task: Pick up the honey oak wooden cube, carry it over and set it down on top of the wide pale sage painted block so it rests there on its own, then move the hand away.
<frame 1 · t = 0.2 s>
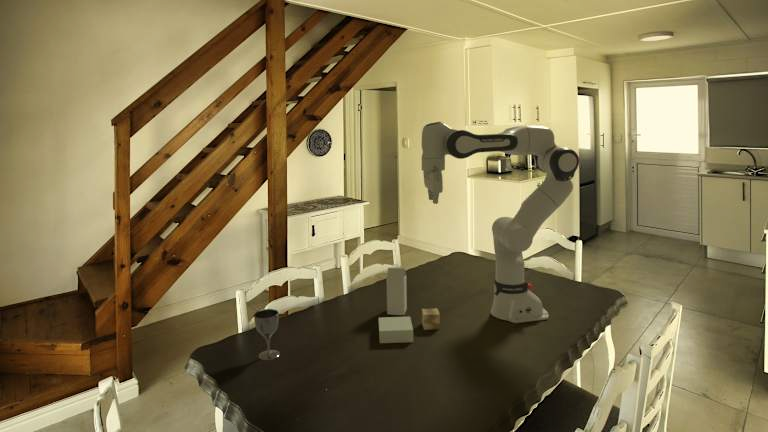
hand: (433, 201, 179), 47 cm above the table, tool pointing down, fingers open, 8 cm apart
wine glass: (269, 355, 159), on the table
sage block: (395, 336, 172), on the table
oak cube: (430, 326, 179), on the table
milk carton: (397, 312, 194), on the table
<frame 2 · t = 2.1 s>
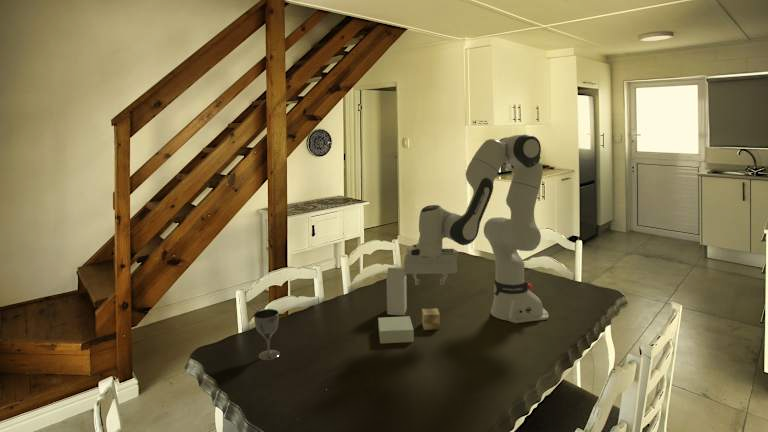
hand: (429, 284, 176), 17 cm above the table, tool pointing down, fingers open, 8 cm apart
nothing on the table moved.
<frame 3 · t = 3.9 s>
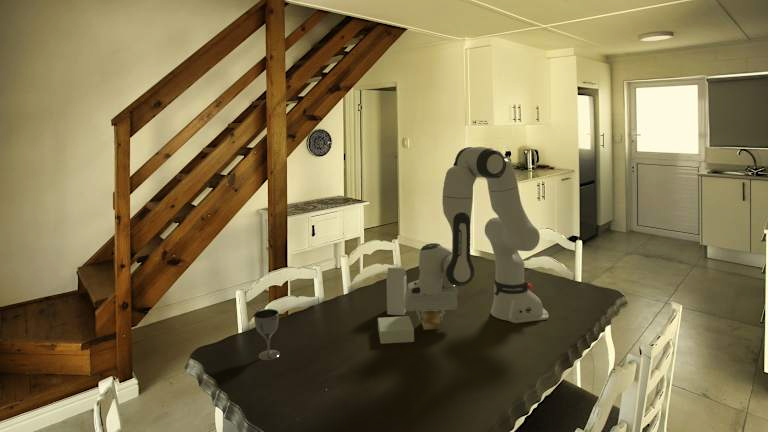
hand: (430, 320, 179), 2 cm above the table, tool pointing down, fingers closed on oak cube, 6 cm apart
oak cube: (430, 326, 179), on the table, touching gripper
everything else where it was.
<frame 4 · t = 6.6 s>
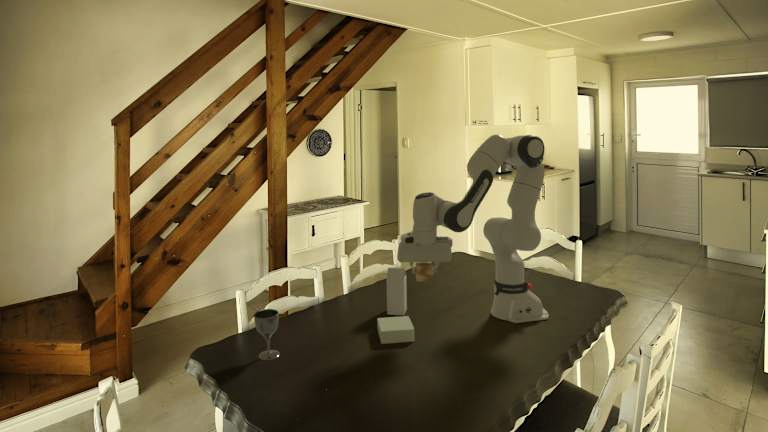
hand: (424, 272, 174), 22 cm above the table, tool pointing down, fingers closed on oak cube, 6 cm apart
oak cube: (424, 278, 175), point 19 cm above the table, touching gripper
everything else where it was.
when the fingers open (8 cm above the table, at t = 9.6 s): oak cube drops 2 cm, point 5 cm above the table.
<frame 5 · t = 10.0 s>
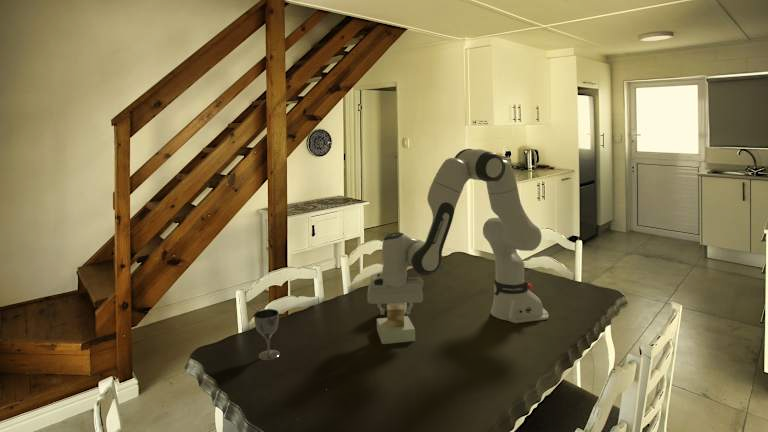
hand: (395, 313, 171), 8 cm above the table, tool pointing down, fingers open, 8 cm apart
oak cube: (395, 323, 171), point 5 cm above the table
everything else where it was.
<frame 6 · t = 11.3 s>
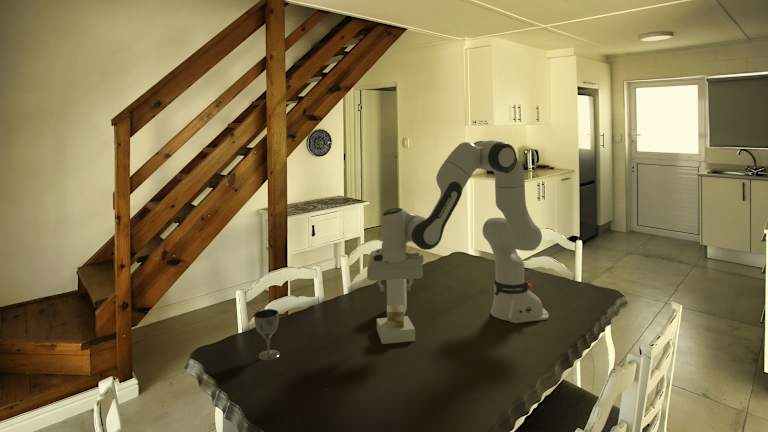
hand: (395, 290, 169), 17 cm above the table, tool pointing down, fingers open, 8 cm apart
sage block: (395, 336, 172), on the table, touching oak cube
oak cube: (395, 324, 171), point 5 cm above the table, touching sage block
everything else where it was.
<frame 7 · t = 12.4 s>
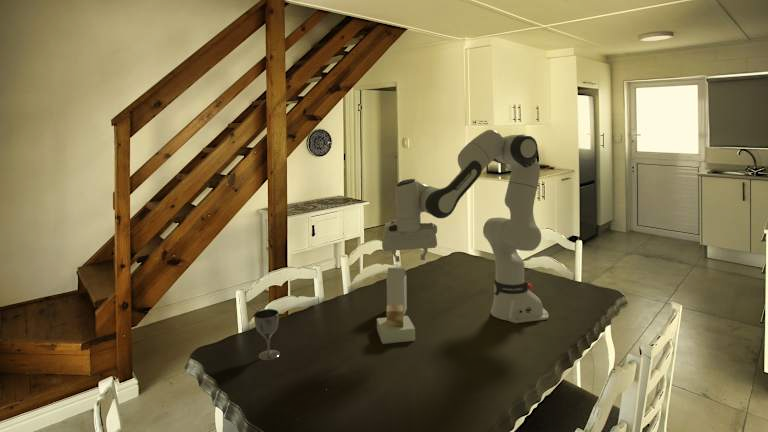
hand: (410, 260, 172), 27 cm above the table, tool pointing down, fingers open, 8 cm apart
sage block: (395, 336, 172), on the table
oak cube: (395, 323, 171), point 5 cm above the table
everything else where it was.
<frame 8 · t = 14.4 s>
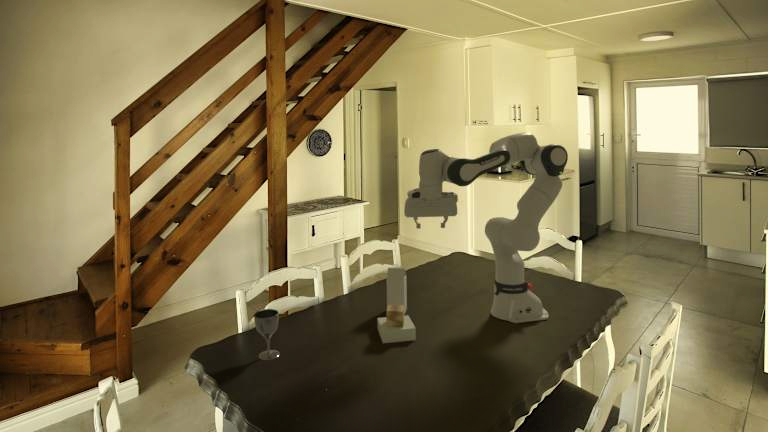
hand: (430, 228, 179), 37 cm above the table, tool pointing down, fingers open, 8 cm apart
sage block: (396, 335, 173), on the table, touching oak cube
oak cube: (395, 323, 171), point 5 cm above the table, touching sage block
everything else where it was.
at the end: oak cube inside the target area on the sage block (0.5 cm from its centre), point 5.0 cm above the sage block's base; oak cube tilted 1°; the gripper is holding nothing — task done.
